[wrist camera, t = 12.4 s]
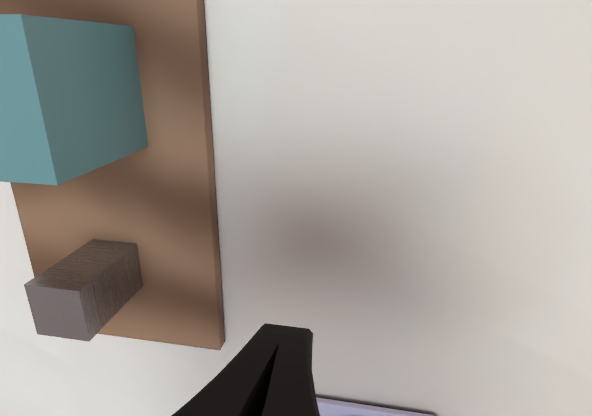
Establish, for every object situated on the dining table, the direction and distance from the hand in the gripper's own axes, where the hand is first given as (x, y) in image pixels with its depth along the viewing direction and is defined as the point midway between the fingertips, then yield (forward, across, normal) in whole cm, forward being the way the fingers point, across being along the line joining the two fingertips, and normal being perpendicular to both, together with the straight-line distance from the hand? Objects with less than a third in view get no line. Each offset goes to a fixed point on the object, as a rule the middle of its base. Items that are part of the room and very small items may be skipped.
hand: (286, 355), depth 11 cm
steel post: (+9, +11, +3) cm, 14 cm away
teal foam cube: (+9, +11, -6) cm, 15 cm away
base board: (+9, +11, -2) cm, 15 cm away
